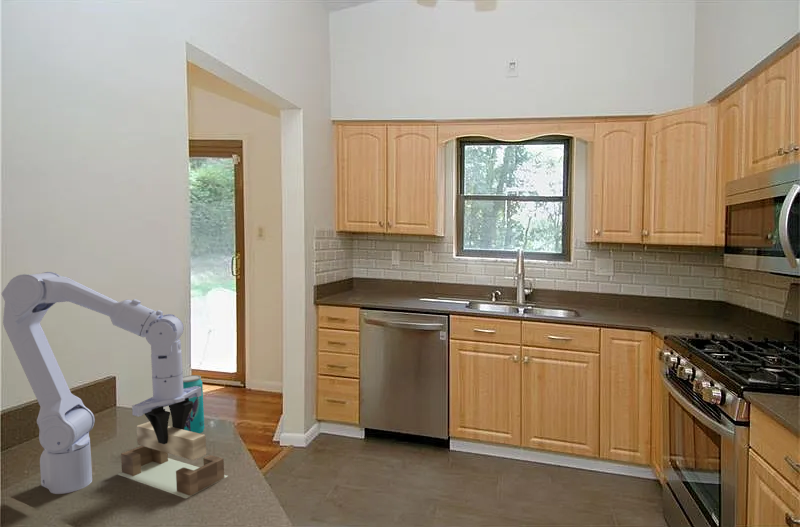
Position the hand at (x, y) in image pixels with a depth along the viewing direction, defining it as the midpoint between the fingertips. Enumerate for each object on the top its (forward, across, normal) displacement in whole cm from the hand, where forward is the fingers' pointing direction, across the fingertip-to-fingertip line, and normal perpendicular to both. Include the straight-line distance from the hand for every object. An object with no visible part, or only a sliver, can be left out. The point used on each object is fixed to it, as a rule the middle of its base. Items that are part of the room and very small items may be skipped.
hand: (170, 439), depth 103 cm
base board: (+8, 0, 0) cm, 8 cm away
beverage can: (+9, +18, +17) cm, 26 cm away
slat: (+2, 0, 0) cm, 2 cm away
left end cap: (+7, 0, +9) cm, 12 cm away
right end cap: (+7, 0, -9) cm, 12 cm away
